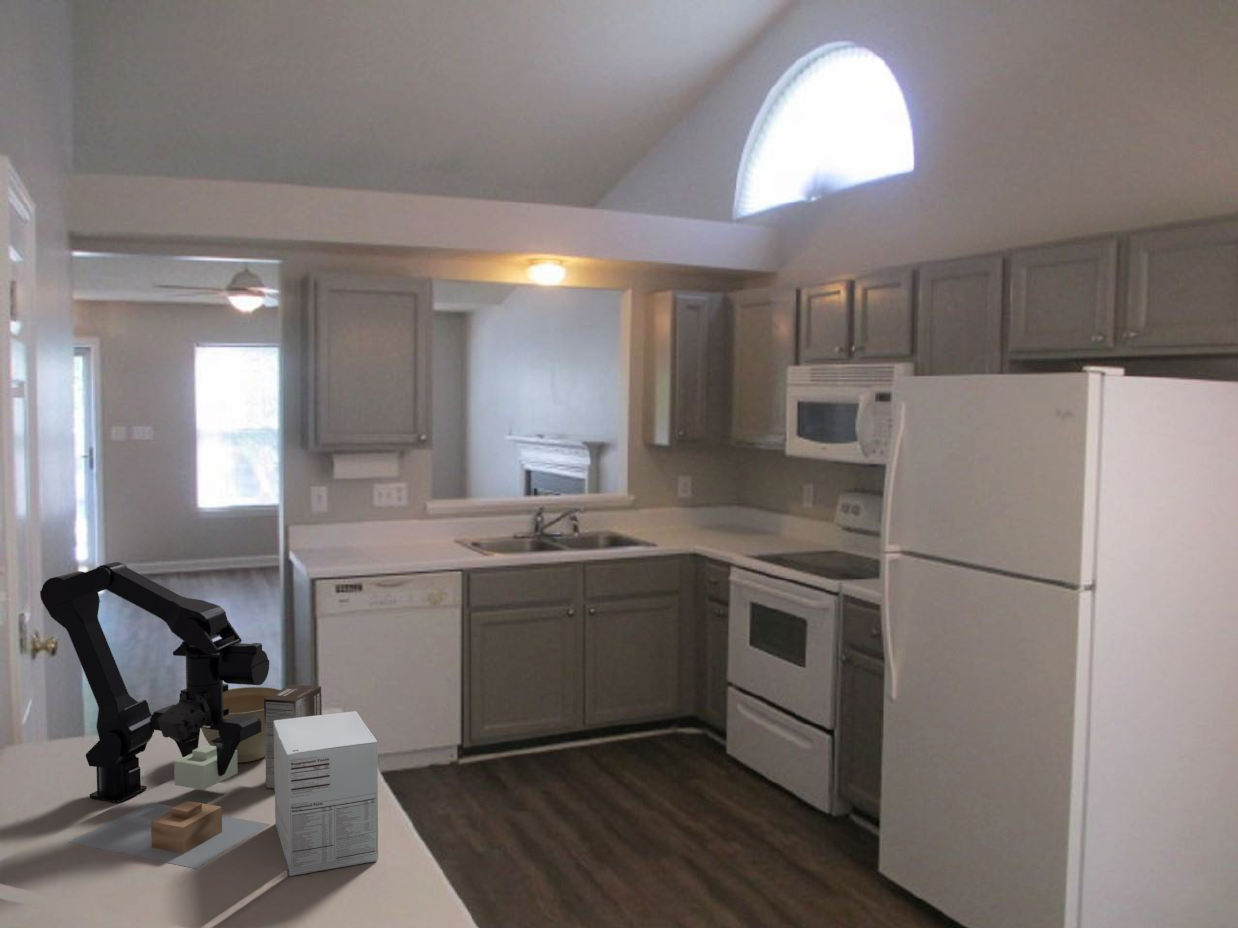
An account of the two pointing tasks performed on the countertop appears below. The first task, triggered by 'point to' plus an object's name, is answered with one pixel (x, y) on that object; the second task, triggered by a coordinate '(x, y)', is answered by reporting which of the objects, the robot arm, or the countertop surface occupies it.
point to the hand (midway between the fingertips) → (206, 772)
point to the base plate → (135, 840)
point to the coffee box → (287, 716)
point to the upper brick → (202, 768)
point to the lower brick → (186, 827)
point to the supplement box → (326, 791)
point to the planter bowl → (248, 704)
